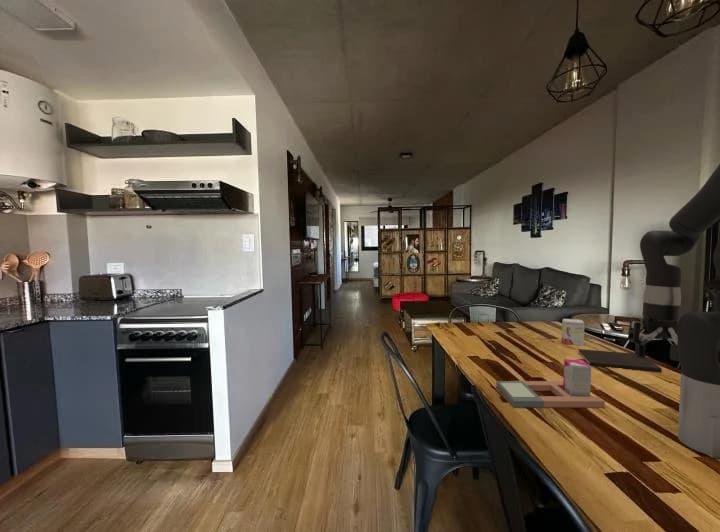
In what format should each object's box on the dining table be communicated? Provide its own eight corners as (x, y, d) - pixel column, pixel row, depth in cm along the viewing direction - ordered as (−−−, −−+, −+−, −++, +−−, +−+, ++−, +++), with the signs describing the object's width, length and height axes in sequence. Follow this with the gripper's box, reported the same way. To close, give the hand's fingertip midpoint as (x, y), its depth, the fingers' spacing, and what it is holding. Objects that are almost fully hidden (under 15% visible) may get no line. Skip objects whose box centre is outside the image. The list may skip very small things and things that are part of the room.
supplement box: (590, 401, 99) (591, 366, 98) (570, 400, 100) (571, 365, 99) (581, 393, 104) (582, 359, 104) (562, 391, 106) (563, 358, 105)
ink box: (563, 344, 154) (564, 320, 153) (561, 341, 158) (561, 318, 158) (584, 346, 151) (584, 322, 150) (581, 343, 155) (582, 319, 154)
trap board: (604, 407, 95) (604, 400, 95) (514, 407, 96) (514, 400, 96) (575, 386, 109) (575, 380, 109) (496, 386, 110) (496, 380, 110)
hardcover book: (578, 353, 142) (578, 348, 142) (641, 359, 134) (641, 354, 134) (589, 367, 127) (589, 361, 127) (661, 374, 119) (662, 368, 119)
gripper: (643, 303, 84) (639, 362, 85) (703, 305, 83) (698, 365, 83) (623, 299, 92) (620, 353, 93) (678, 301, 90) (674, 356, 91)
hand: (657, 359), depth 88 cm, fingers open, 8 cm apart
